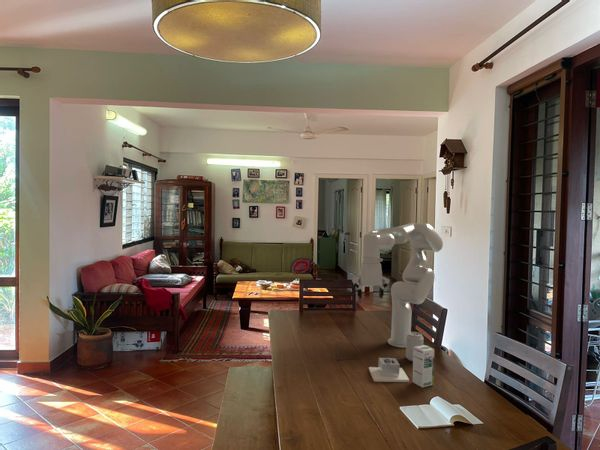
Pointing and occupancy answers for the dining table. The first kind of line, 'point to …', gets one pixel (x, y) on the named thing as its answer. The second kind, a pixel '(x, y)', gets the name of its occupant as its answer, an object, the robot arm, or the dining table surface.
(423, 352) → the syrup box
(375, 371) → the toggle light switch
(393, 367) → the grey hollow square block
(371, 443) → the dining table surface
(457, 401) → the dining table surface
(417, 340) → the can
